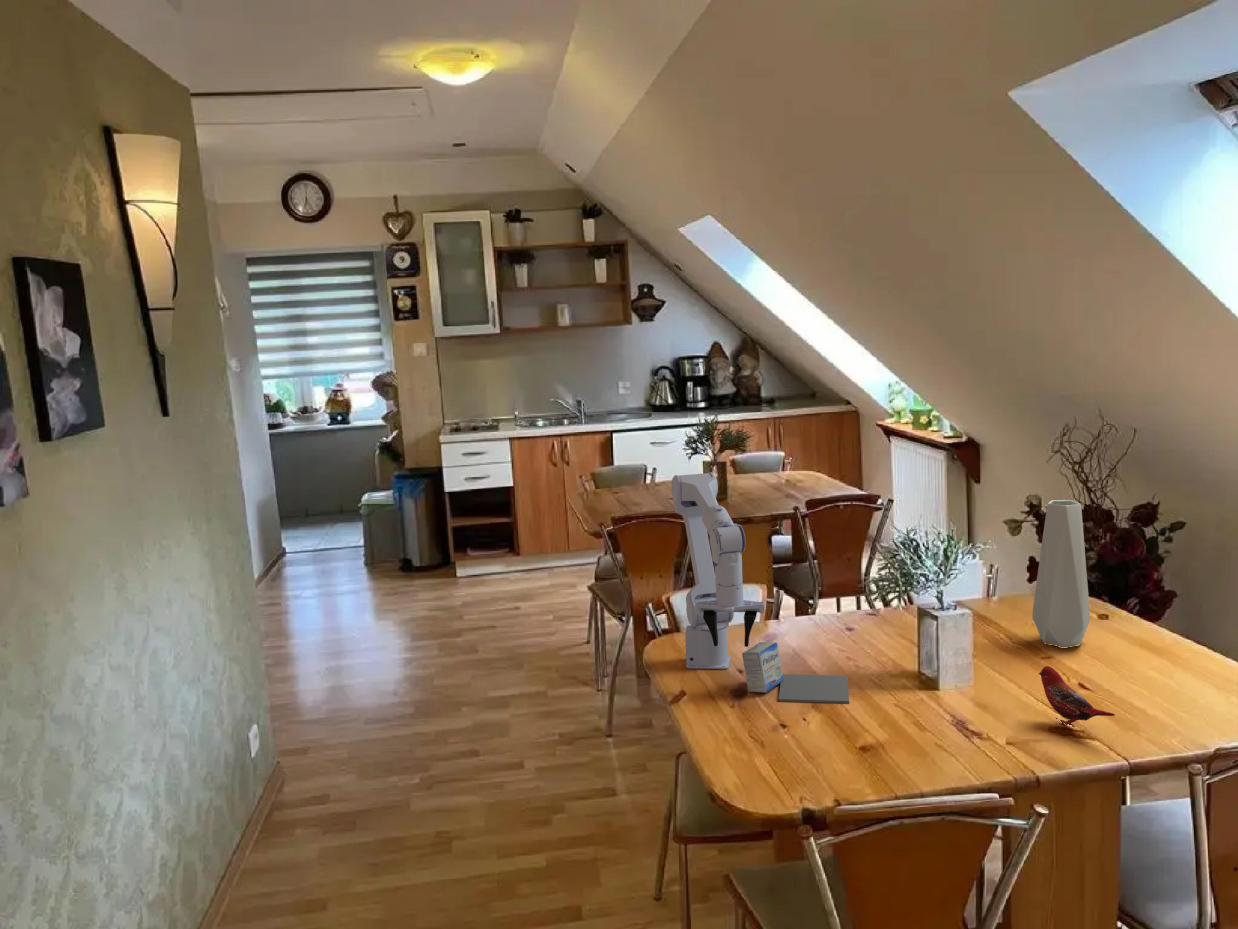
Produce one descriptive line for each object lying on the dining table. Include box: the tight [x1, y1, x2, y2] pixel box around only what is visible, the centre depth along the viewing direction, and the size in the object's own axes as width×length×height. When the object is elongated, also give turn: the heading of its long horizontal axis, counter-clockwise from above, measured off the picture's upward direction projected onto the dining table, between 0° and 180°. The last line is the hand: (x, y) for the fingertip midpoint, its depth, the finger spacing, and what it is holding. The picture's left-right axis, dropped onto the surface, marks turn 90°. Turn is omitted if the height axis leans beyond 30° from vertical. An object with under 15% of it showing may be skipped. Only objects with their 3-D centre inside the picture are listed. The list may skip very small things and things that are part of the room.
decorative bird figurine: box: [1038, 665, 1116, 728], centre depth 176 cm, size 3×18×10 cm, turn 20°
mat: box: [778, 673, 850, 704], centre depth 202 cm, size 14×14×1 cm
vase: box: [1031, 499, 1091, 647], centre depth 219 cm, size 12×12×33 cm
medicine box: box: [741, 641, 784, 694], centre depth 204 cm, size 8×4×9 cm, turn 143°
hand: (731, 644), depth 204 cm, fingers open, 6 cm apart
